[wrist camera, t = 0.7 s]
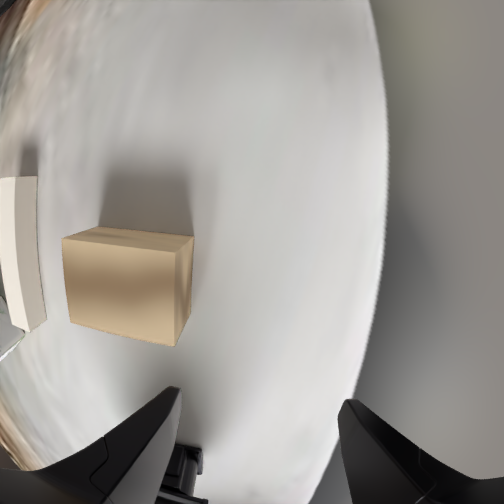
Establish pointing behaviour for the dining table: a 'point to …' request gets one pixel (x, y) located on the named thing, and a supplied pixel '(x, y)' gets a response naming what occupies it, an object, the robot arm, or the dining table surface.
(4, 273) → the plank
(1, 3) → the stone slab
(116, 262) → the oak block
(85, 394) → the dining table surface
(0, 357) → the syrup box
